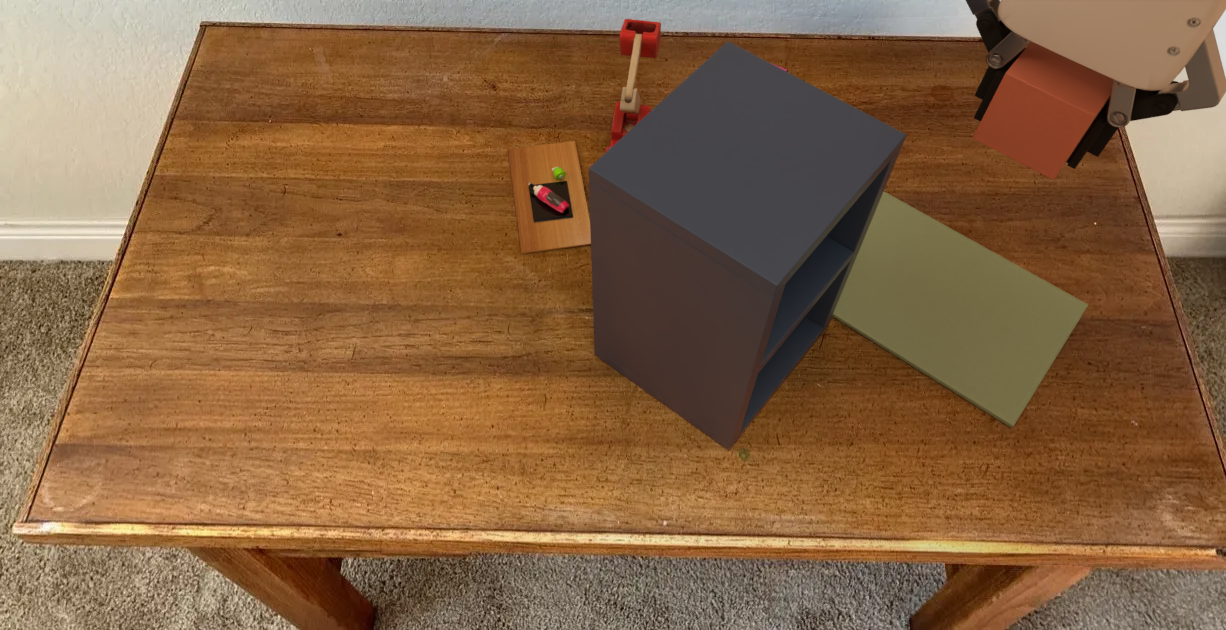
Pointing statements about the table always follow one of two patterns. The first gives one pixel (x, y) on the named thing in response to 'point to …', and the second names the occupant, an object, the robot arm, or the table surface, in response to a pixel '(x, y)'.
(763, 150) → the shelf
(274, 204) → the table surface
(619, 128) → the toy fire truck
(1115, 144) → the table surface
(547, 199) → the board
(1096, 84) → the toy block
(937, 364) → the play mat
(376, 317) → the table surface
